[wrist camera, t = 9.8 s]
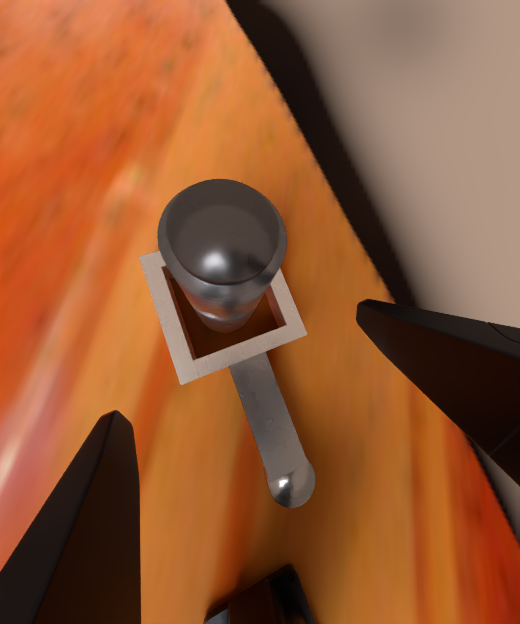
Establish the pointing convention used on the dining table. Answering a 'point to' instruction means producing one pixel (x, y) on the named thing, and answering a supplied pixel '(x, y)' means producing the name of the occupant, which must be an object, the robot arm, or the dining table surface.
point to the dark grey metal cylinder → (222, 249)
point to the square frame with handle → (245, 379)
